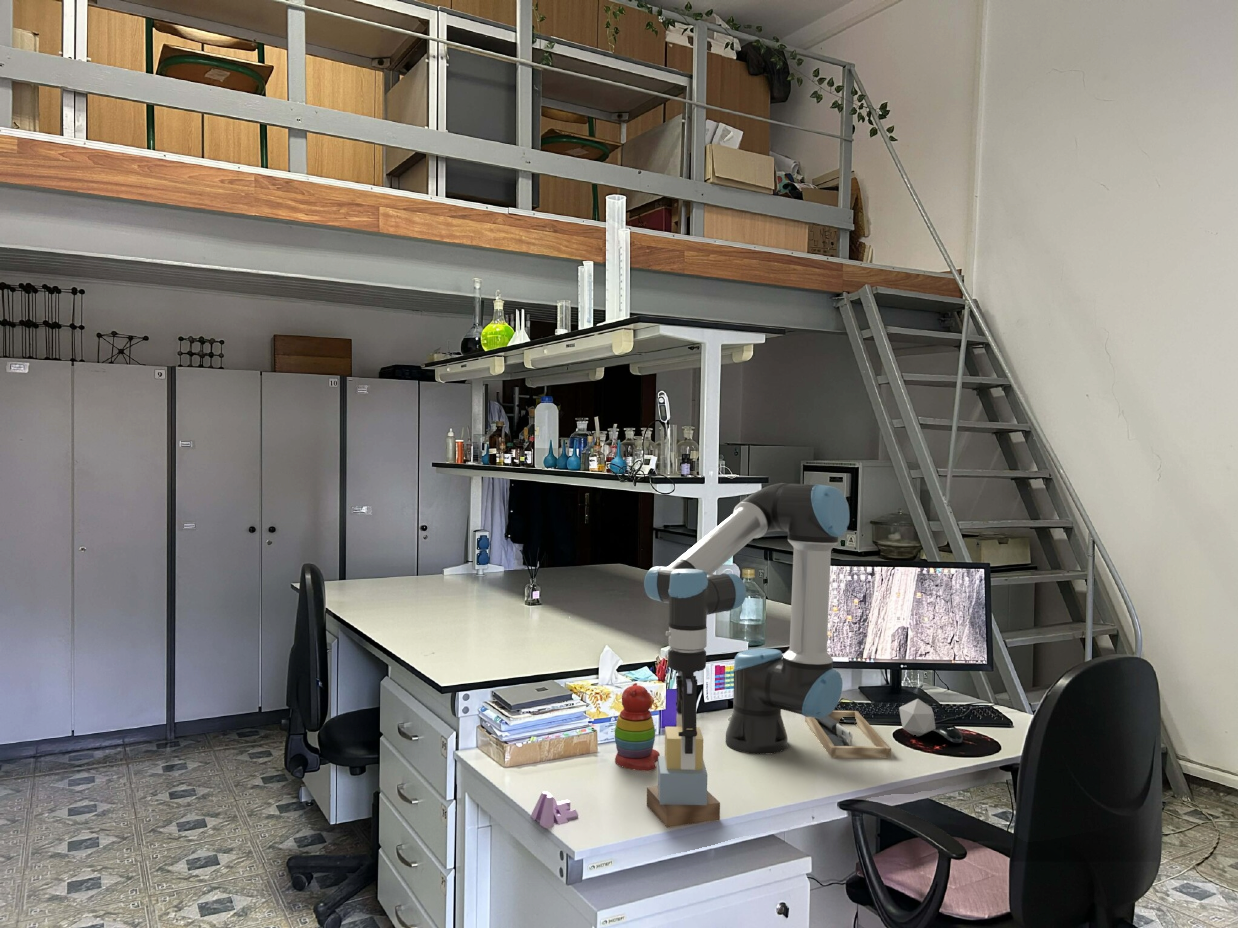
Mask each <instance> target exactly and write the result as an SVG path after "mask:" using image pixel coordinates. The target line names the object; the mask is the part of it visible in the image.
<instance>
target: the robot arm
mask: <svg viewBox="0 0 1238 928" xmlns="http://www.w3.org/2000/svg"><path fill="white" fill-rule="evenodd" d="M849 524H850V509H849V504H848V502H847V498H846V497H845V495H844V494H843V492H842V491H841V490H840V489H839V488H837V487H836V486H831V485H825V484H820V483H819V484H806V483H803V484H802V483H787V482H780V483H774V484H771V485H768V486H765V487H763V488H760V489H759V490H757V491H755V492H753V493H752V494H750V495H749V496H748V495H747V497H746V498H744V499H743V500H741V501H740V502H739V503H737V504H736V505H735V507H734V508H733V511H732V514H730V516H728V517H727V518H726V519H724V520H723V521H722V522H721V523H720V524H719V525H717V526H715V528H714V529H712V530H711V531H710V532H709V533H708V534H706V535H705V536H704V537H702V538H701V539H700V540H699V541H697V542H696V543H695V544H694V545H693V546H692V547H690V548H688V549H687V551H686V552H684V553H683V554H681V555H680V556H679V557H678V558H676V560H675V561H673V562H671V564H669V565H668V566H664V565H661V566H659V565H658V566H653V567H651V568H650V569H649V570H648V571H647V573H646V575H645V576H644V577H645V578H644V581H643V587H644V591H645V594H646V596H647V597H648V598H650V599H651V600H654V601H658V602H661V603H663V604H665V603H666V604H668V630H667V631H665V636H666V637H668V646H669V647H670V648H669V649H668V650H667V666H668V668H669V669H670V670H672V671H676V672H677V674H676V675H675V683H676V702H675V705H676V709H675V710H676V727H682V732H679V734H678V735H679V736H681V769H686V770H695V747H696V736H697V730H696V727H697V698H698V696H697V695H698V694H697V688H698V679H697V675H695V674H694V673H696V672H701V671H703V670H705V669H706V667H707V650H706V647H707V645H708V644H707V641H708V640H707V639H708V637H707V636H708V633H707V631H708V630H707V629H708V627H707V617H708V615H714V614H717V613H723V612H731V611H732V610H735V609H737V608H739V607H741V606H742V605H743V603H744V602H745V600H746V597H747V596H746V595H747V588H746V585H745V583H744V581H743V580H742V578H741V577H740V576H738V575H737V574H735V573H725V572H724V573H720V574H714V573H716V571H717V570H718V569H720V568H721V567H722V566H723V565H725V563H727V562H728V561H729V560H730V559H731V558H733V556H735V555H736V554H737V553H738V552H739V551H741V549H743V548H744V547H745V546H747V544H748V543H750V542H751V541H752V540H753V539H759V538H762V537H763V536H765V534H767V533H770V532H775V531H776V532H777V531H779V532H780V531H781V532H786V533H787V541H788V543H789V544H790V545H791V546H792V547H793V556H792V557H793V558H792V577H791V578H792V582H791V583H792V585H791V604H790V605H791V607H790V627H789V630H790V631H789V648H788V649H787V650H786V651H785V652H784V653H783V652H782V651H781V650H780V649H775V648H755V649H753V648H752V649H747V650H743V651H739V652H738V653H737V654H736V655H735V656H734V661H733V662H734V663H733V669H732V671H733V702H732V703H733V707H732V708H733V709H732V714H731V717H730V720H729V722H728V726H727V727H726V731H725V744H726V745H727V747H729V748H731V749H732V750H736V751H737V752H741V753H746V754H752V755H770V754H771V753H772V754H777V752H778V753H781V752H784V751H785V750H787V748H788V745H789V743H788V742H789V741H788V734H787V731H786V727H785V725H784V724H785V723H784V721H783V718H782V710H783V711H787V712H790V713H795V714H798V715H801V716H803V717H804V718H805V717H813V718H819V719H821V718H825V717H827V716H829V715H830V714H831V713H832V712H833V711H835V709H836V707H837V706H838V704H839V702H840V699H841V696H842V691H843V678H842V675H841V673H840V672H839V671H837V670H836V669H834V668H833V667H834V658H832V656H831V655H830V654H829V653H828V650H827V649H828V632H829V631H828V630H829V629H828V628H829V610H830V609H829V606H830V605H829V603H830V584H831V583H830V582H831V580H830V579H831V559H832V558H831V557H832V554H831V553H832V550H833V548H835V547H836V546H837V545H838V544H839V537H841V536H843V535H845V534H846V533H847V530H848V527H849ZM686 729H692V730H686ZM780 751H781V752H780Z"/></svg>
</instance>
